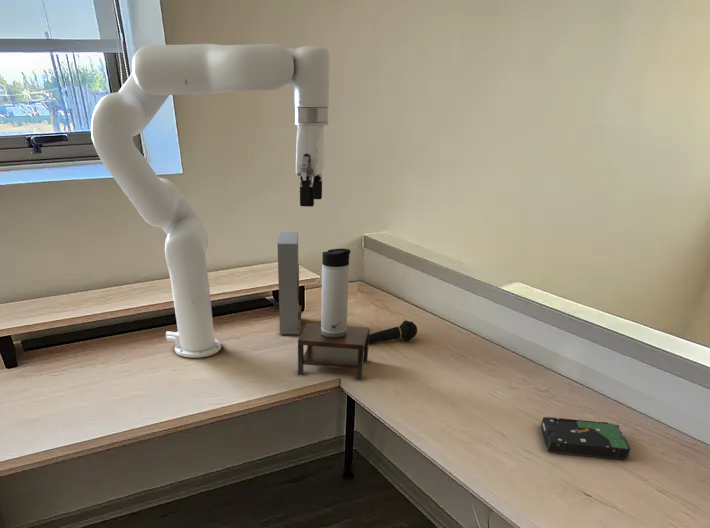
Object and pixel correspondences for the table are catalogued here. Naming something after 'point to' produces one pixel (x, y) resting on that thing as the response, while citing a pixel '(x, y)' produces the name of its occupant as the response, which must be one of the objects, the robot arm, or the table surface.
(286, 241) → the tall grey pillar
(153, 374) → the table surface
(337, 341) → the plate
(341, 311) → the travel mug
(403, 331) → the microphone
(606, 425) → the disk drive
